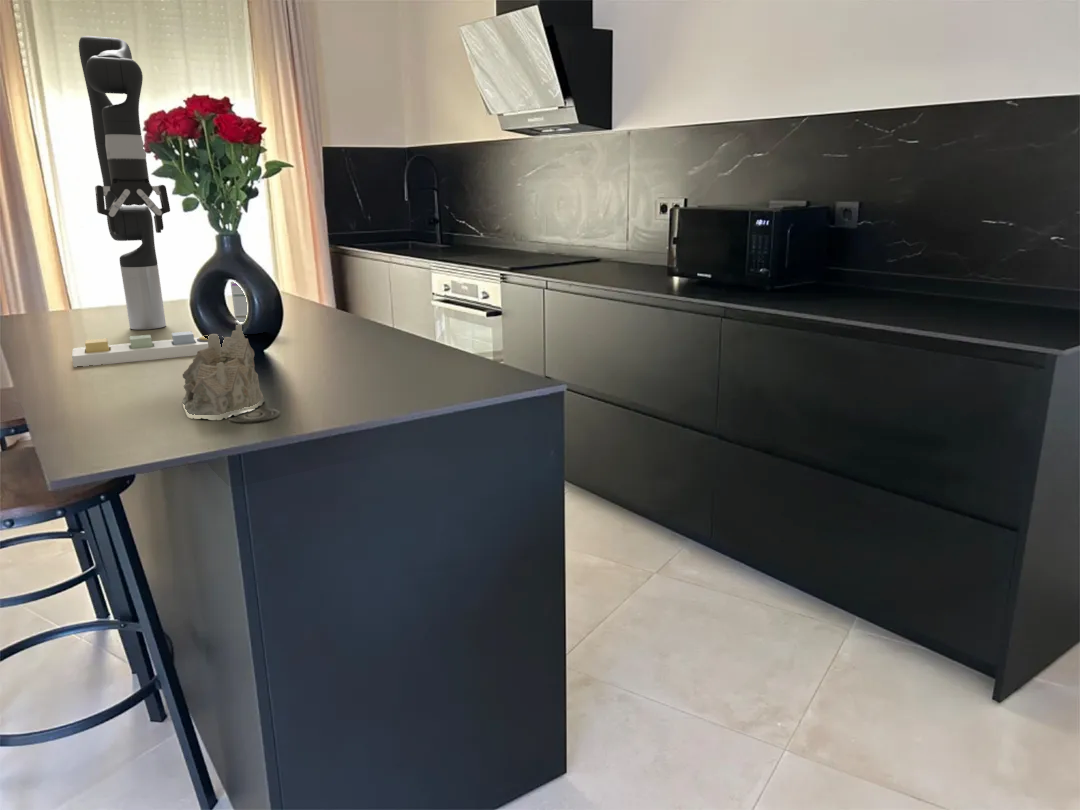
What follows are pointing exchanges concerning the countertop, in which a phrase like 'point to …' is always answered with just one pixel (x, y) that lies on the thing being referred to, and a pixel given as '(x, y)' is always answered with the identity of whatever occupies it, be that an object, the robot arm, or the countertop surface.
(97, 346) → the ochre button
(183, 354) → the button panel
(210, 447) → the countertop surface
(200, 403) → the ceramic cottage
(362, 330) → the countertop surface
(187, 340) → the slate button
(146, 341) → the sage button
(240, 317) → the syrup box
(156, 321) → the robot arm
